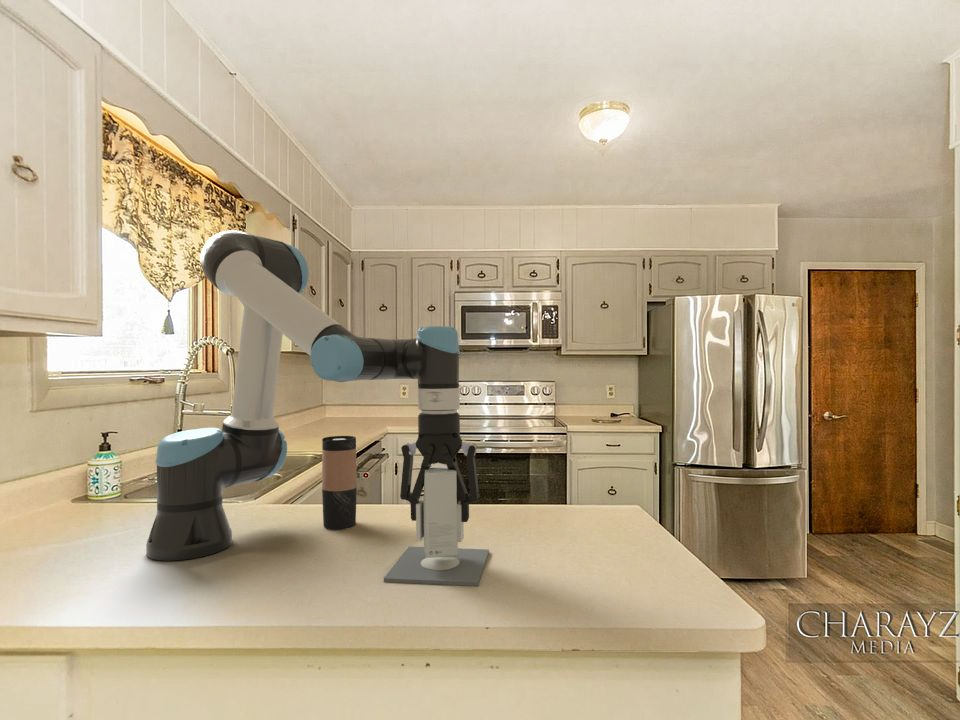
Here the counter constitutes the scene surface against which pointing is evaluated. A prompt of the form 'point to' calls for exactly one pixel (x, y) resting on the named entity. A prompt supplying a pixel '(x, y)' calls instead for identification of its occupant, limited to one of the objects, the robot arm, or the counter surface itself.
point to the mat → (439, 568)
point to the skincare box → (440, 512)
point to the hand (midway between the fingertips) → (440, 538)
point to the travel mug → (339, 482)
